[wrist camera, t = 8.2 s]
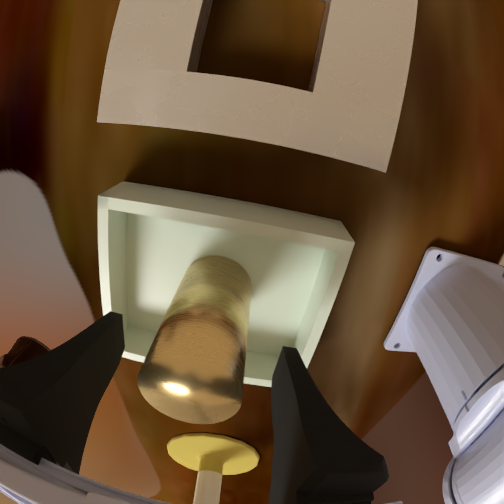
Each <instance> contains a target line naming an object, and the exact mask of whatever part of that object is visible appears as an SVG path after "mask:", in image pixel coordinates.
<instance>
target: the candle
mask: <svg viewBox="0 0 504 504" xmlns="http://www.w3.org/2000/svg"><path fill="white" fill-rule="evenodd" d="M167 449H168V454H169V455H170V456H171V457H172V458H173V459H174V460H175V461H176V462H178V463H180V464H182V465H184V466H185V467H187V468H190V469H193V470H196V471H198V476H197V483H196V489H195V495H194V501H193V504H219V499H220V490H221V481H222V475H234V474H239V473H243V472H248V471H250V470H251V469H253V468H254V467H256V466H257V464H258V461H259V458H260V456H259V455H258V453H257V451H256V450H255V449H254V448H253V447H251V446H249V445H248V444H246V443H244V442H243V441H240V440H236V439H233V438H230V437H227V436H223V435H215V434H208V433H186V434H182V435H179V436H176V437H173V438H172V439H171V440H170V441H169V442H168V443H167Z"/></svg>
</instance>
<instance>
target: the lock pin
mask: <svg viewBox="0 0 504 504" xmlns="http://www.w3.org/2000/svg"><path fill="white" fill-rule="evenodd" d="M251 293H252V284H251V280H250V277H249V275H248V273H247V272H246V270H245V269H244V268H243V267H242V266H241V265H240V264H239V263H237V262H236V261H234V260H232V259H230V258H227V257H224V256H217V255H211V256H205V257H202V258H200V259H198V260H196V261H194V262H193V263H192V264H191V265H190V266H189V267H188V269H187V270H186V272H185V274H184V276H183V278H182V280H181V282H180V284H179V287H178V289H177V291H176V293H175V295H174V297H173V299H172V301H171V303H170V306H169V308H168V310H167V312H166V314H165V316H164V318H163V321H162V323H161V325H160V327H159V329H158V331H157V334H156V336H155V338H154V340H153V343H152V345H151V347H150V349H149V351H148V354H147V356H146V358H145V361H144V363H143V365H142V367H141V370H140V372H139V374H138V387H139V390H140V392H141V394H142V395H143V397H144V398H145V399H146V400H147V401H148V403H149V404H151V405H152V406H153V407H154V408H155V409H157V410H158V411H160V412H162V413H163V414H165V415H167V416H169V417H172V418H174V419H177V420H180V421H184V422H188V423H195V424H212V423H217V422H221V421H224V420H227V419H229V418H230V417H232V416H233V415H235V414H236V413H237V412H238V410H239V409H240V406H241V403H242V393H243V382H244V371H245V360H246V349H247V338H248V327H249V316H250V304H251Z"/></svg>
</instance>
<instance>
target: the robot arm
mask: <svg viewBox="0 0 504 504" xmlns="http://www.w3.org/2000/svg"><path fill="white" fill-rule="evenodd" d="M439 254H440V257H439V258H438V259H436V258H437V256H438V255H439ZM397 343H398V344H397ZM395 344H396V345H395ZM384 347H385V349H386V350H392V351H407V352H417V354H418V356H419V358H420V360H421V362H422V364H423V366H424V368H425V370H426V372H427V374H428V376H429V378H430V380H431V382H432V385H433V387H434V389H435V391H436V393H437V395H438V397H439V400H440V402H441V404H442V406H443V408H444V411H445V413H446V415H447V418H448V420H449V422H450V424H451V427H452V429H453V431H454V436H453V438H452V439H451V440H450V441H449V446H450V449H451V451H452V454H453V458H452V460H451V461H450V463H449V464H448V466H447V468H446V471H445V474H444V478H443V496H444V501H445V504H504V266H502V265H498V264H495V263H492V262H488V261H485V260H481V259H478V258H474V257H471V256H467V255H463V254H460V253H456V252H452V251H449V250H445V249H441V248H437V247H430V248H428V249H427V251H426V252H425V255H424V257H423V260H422V262H421V265H420V267H419V269H418V272H417V274H416V277H415V279H414V281H413V283H412V286H411V288H410V290H409V292H408V295H407V297H406V299H405V301H404V303H403V305H402V307H401V310H400V312H399V314H398V316H397V318H396V320H395V322H394V324H393V326H392V328H391V330H390V332H389V334H388V335H387V337H386V339H385V341H384ZM124 349H125V341H124V329H123V315H122V314H119V313H115V312H112V311H110V312H109V313H107V314H106V315H104V316H103V317H101V318H100V319H99V320H97V321H96V322H95V323H93V324H92V325H91V326H89V327H88V328H87V329H85V330H83V331H82V332H80V333H79V334H78V335H76V336H75V337H73V338H71V339H70V340H68V341H67V342H65V343H63V344H62V345H60V346H58V347H56V348H55V349H53V350H51V351H49V352H47V353H44V354H42V355H40V356H37V357H35V358H32V359H30V360H27V361H24V362H21V363H18V364H14V365H11V366H7V367H2V368H0V491H1V492H2V493H4V494H5V495H6V496H8V497H10V498H11V499H13V500H14V501H16V502H17V503H19V504H172V503H167V502H163V501H159V500H155V499H151V498H147V497H143V496H140V495H136V494H133V493H129V492H126V491H123V490H120V489H117V488H114V487H110V486H108V485H104V484H102V483H99V482H97V481H94V480H91V479H88V478H86V477H84V476H81V475H79V470H80V465H81V460H82V455H83V452H84V448H85V444H86V440H87V437H88V433H89V430H90V427H91V423H92V420H93V418H94V415H95V412H96V409H97V406H98V404H99V402H100V400H101V398H102V396H103V394H104V392H105V390H106V388H107V386H108V385H109V383H110V380H111V379H112V377H113V375H114V373H115V371H116V369H117V367H118V365H119V363H120V360H121V357H122V355H123V352H124ZM271 407H272V422H273V437H274V448H273V465H272V478H271V488H270V498H269V504H371V501H373V499H374V496H373V492H374V491H375V490H377V489H378V488H379V487H380V486H382V485H383V484H384V483H385V482H386V481H387V480H388V478H389V474H388V469H387V465H386V462H385V459H384V457H383V456H382V455H381V454H379V453H378V452H376V451H375V450H373V449H372V448H371V447H369V446H368V445H367V444H366V443H364V442H363V441H362V440H361V439H360V438H358V437H357V436H356V435H355V434H354V433H353V432H352V431H351V430H350V429H349V428H348V427H347V426H346V425H345V424H344V423H343V422H342V421H341V420H340V419H339V417H338V416H337V415H336V414H335V413H334V411H333V410H332V409H331V407H330V406H329V405H328V403H327V402H326V401H325V399H324V398H323V396H322V394H321V393H320V391H319V390H318V388H317V387H316V385H315V383H314V381H313V380H312V378H311V376H310V374H309V372H308V370H307V368H306V366H305V364H304V362H303V360H302V358H301V356H300V354H299V352H298V350H297V348H293V347H286V346H283V347H282V350H281V353H280V356H279V358H278V361H277V364H276V367H275V370H274V373H273V376H272V386H271ZM386 504H403V503H402V501H398V502H392V503H386Z"/></svg>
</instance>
